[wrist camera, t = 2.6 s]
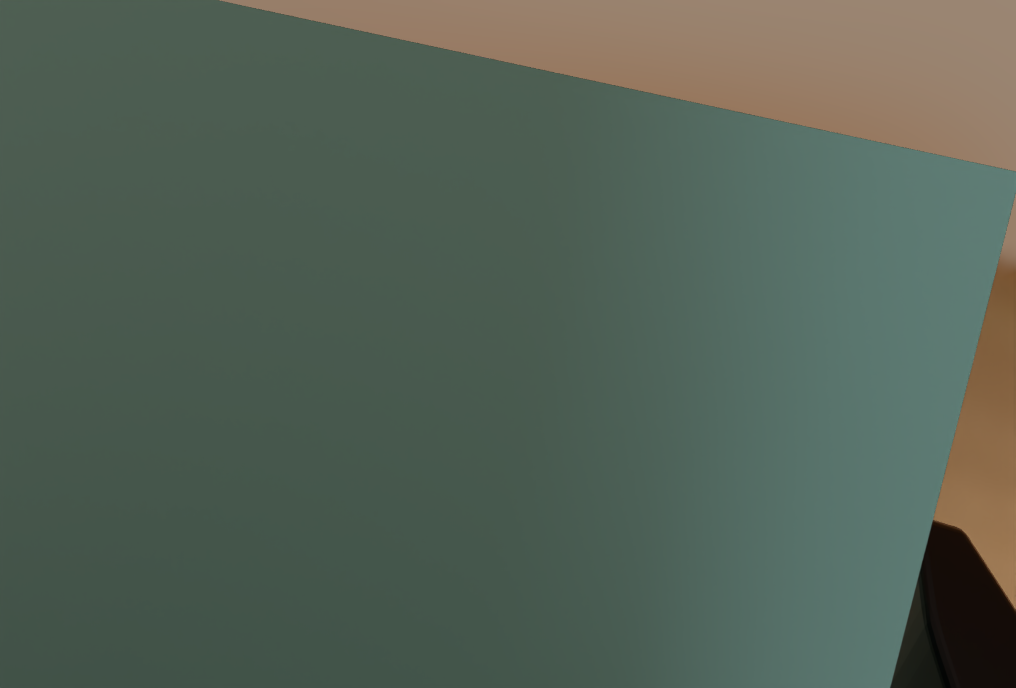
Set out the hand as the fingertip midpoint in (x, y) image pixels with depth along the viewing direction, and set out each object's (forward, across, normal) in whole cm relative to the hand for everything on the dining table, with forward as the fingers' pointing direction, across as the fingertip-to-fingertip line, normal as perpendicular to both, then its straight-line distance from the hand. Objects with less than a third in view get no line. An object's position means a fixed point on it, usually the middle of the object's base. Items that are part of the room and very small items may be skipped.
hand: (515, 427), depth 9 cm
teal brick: (+4, 0, +6) cm, 7 cm away
